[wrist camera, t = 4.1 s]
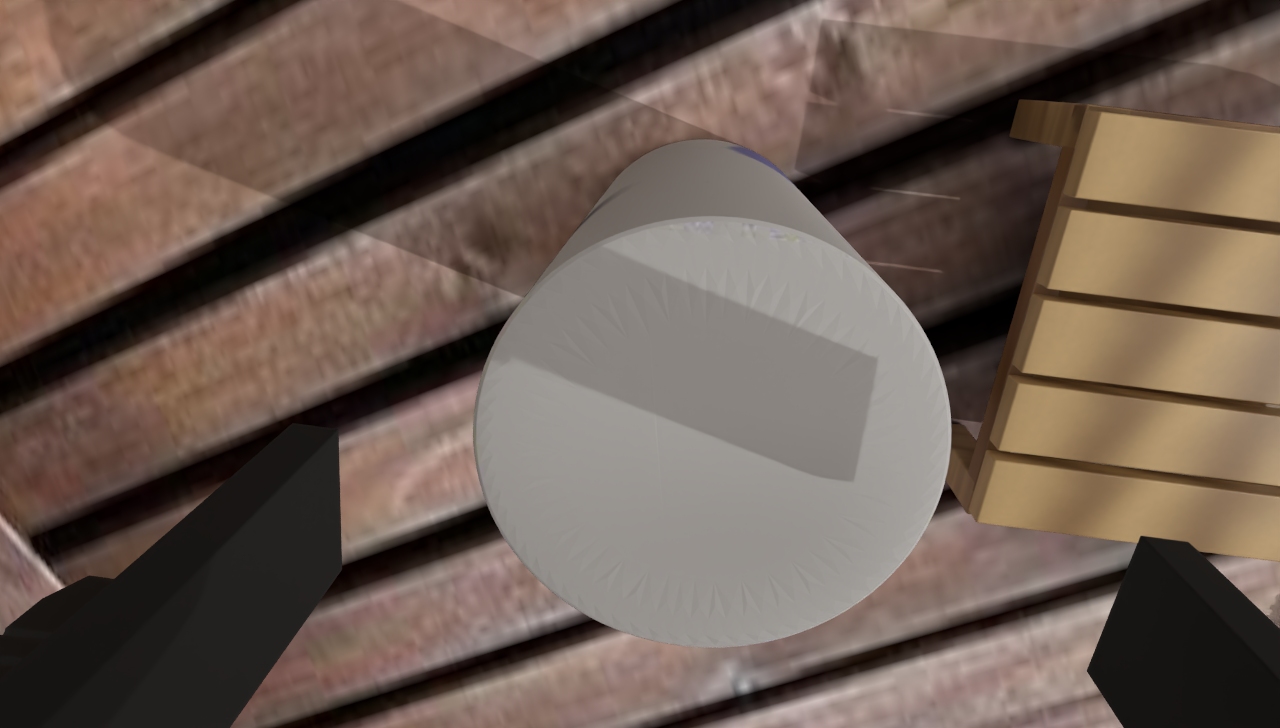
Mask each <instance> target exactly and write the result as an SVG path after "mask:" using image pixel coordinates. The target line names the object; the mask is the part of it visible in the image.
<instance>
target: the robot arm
mask: <svg viewBox="0 0 1280 728" xmlns="http://www.w3.org/2000/svg"><path fill="white" fill-rule="evenodd" d="M341 570H342V551H341V513H340V475H339V438H338V429H332V428H325V427H317V426H310V425H302V424H295V423H292V424H291V425H290V426H289V427H288V428H287V429H285V430H284V431H283V432H282V433H281V434H280V435H279V436H277V437H276V438H275V439H274V440H273V441H272V442H271V443H269V444H268V445H267V446H266V447H265V448H264V449H263V450H261V451H260V452H259V453H258V454H257V455H256V456H254V457H253V458H252V459H251V460H250V461H249V462H248V463H246V464H245V465H244V466H243V467H242V468H241V469H240V470H238V471H237V472H236V473H235V474H234V475H233V476H232V477H230V478H229V479H228V480H227V481H226V482H225V483H224V484H222V485H221V486H220V487H219V488H218V489H217V490H216V491H214V492H213V493H212V494H211V495H210V496H209V497H208V498H206V499H205V500H204V501H203V502H202V503H201V504H200V505H198V506H197V507H196V508H195V509H194V510H193V511H192V512H190V513H189V514H188V515H187V516H186V517H185V518H184V519H182V520H181V521H180V522H179V523H178V524H177V525H176V526H174V527H173V528H172V529H171V530H170V531H169V532H168V533H166V534H165V535H164V536H163V537H162V538H161V539H160V540H158V541H157V542H156V543H155V544H154V545H153V546H152V547H150V548H149V549H148V550H147V551H146V552H145V553H144V554H142V555H141V556H140V557H139V558H138V559H137V560H136V561H134V562H133V563H132V564H131V565H130V566H129V567H128V568H126V569H125V570H124V571H123V572H122V573H121V574H120V575H118V576H117V577H116V578H115V579H110V578H103V577H96V576H87V577H85V578H83V579H81V580H79V581H77V582H75V583H73V584H71V585H69V586H67V587H65V588H63V589H61V590H59V591H57V592H55V593H53V594H51V595H49V596H47V597H45V598H43V599H41V600H40V601H39V602H38V603H36V604H35V605H34V606H33V607H31V608H30V609H29V610H28V611H26V612H25V613H24V614H23V615H21V616H20V617H19V618H18V619H17V620H15V621H14V622H13V623H12V624H10V625H9V626H8V627H7V628H5V632H4V634H3V635H0V728H230V727H231V725H232V724H233V722H234V721H235V720H236V718H237V717H238V715H239V714H240V713H241V711H242V710H243V708H244V707H245V705H246V704H247V703H248V701H249V700H250V698H251V697H252V696H253V694H254V693H255V691H256V690H257V689H258V687H259V686H260V684H261V683H262V682H263V680H264V679H265V677H266V676H267V674H268V673H269V672H270V670H271V669H272V667H273V666H274V665H275V663H276V662H277V660H278V659H279V658H280V656H281V655H282V653H283V652H284V650H285V649H286V648H287V646H288V645H289V643H290V642H291V641H292V639H293V638H294V636H295V635H296V634H297V632H298V631H299V629H300V628H301V626H302V625H303V624H304V622H305V621H306V619H307V618H308V617H309V615H310V614H311V612H312V611H313V610H314V608H315V607H316V605H317V604H318V602H319V601H320V600H321V598H322V597H323V595H324V594H325V593H326V591H327V590H328V588H329V587H330V586H331V584H332V583H333V581H334V580H335V579H336V577H337V576H338V574H339V573H340V571H341ZM1087 672H1088V674H1089V675H1090V677H1091V678H1092V680H1093V681H1094V683H1095V684H1096V686H1097V687H1098V689H1099V690H1100V692H1101V693H1102V695H1103V697H1104V698H1105V700H1106V701H1107V703H1108V704H1109V706H1110V707H1111V709H1112V710H1113V712H1114V713H1115V715H1116V716H1117V718H1118V720H1119V721H1120V723H1121V724H1122V726H1123V727H1124V728H1280V629H1279V628H1278V627H1277V626H1276V625H1275V624H1274V623H1273V622H1272V621H1271V620H1270V619H1269V618H1268V617H1267V616H1266V615H1265V614H1264V613H1263V612H1262V611H1260V610H1259V609H1258V608H1257V607H1256V606H1255V605H1254V604H1253V603H1252V602H1251V601H1250V600H1249V599H1248V598H1247V597H1246V596H1245V595H1244V594H1243V593H1242V592H1241V591H1240V590H1238V589H1237V588H1236V587H1235V586H1234V585H1233V584H1232V583H1231V582H1230V581H1229V580H1228V579H1227V578H1226V577H1225V576H1224V575H1223V574H1222V573H1221V572H1220V571H1219V570H1218V569H1216V568H1215V567H1214V566H1213V565H1212V564H1211V563H1210V562H1209V561H1208V560H1207V559H1206V558H1205V557H1204V556H1203V555H1202V554H1201V553H1200V552H1199V551H1198V550H1197V549H1195V548H1194V547H1193V546H1192V545H1191V544H1190V543H1189V542H1185V541H1178V540H1170V539H1163V538H1155V537H1148V536H1140V538H1139V541H1138V544H1137V546H1136V549H1135V551H1134V554H1133V556H1132V559H1131V561H1130V564H1129V566H1128V569H1127V571H1126V574H1125V576H1124V579H1123V581H1122V584H1121V586H1120V589H1119V591H1118V594H1117V596H1116V599H1115V601H1114V604H1113V606H1112V609H1111V611H1110V614H1109V616H1108V619H1107V621H1106V624H1105V626H1104V629H1103V631H1102V634H1101V636H1100V639H1099V641H1098V644H1097V647H1096V649H1095V652H1094V654H1093V657H1092V659H1091V662H1090V664H1089V667H1088V669H1087Z"/></svg>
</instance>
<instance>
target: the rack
mask: <svg viewBox="0 0 1280 728" xmlns="http://www.w3.org/2000/svg"><path fill="white" fill-rule="evenodd" d="M1009 137H1011V138H1017V139H1022V140H1027V141H1032V142H1037V143H1043V144H1048V145H1053V146H1058V147H1062V151H1061V154H1060V158H1059V161H1058V164H1057V168H1056V171H1055V175H1054V178H1053V182H1052V185H1051V189H1050V192H1049V195H1048V199H1047V202H1046V206H1045V209H1044V213H1043V216H1042V219H1041V223H1040V226H1039V230H1038V233H1037V237H1036V240H1035V243H1034V247H1033V250H1032V254H1031V257H1030V261H1029V264H1028V268H1027V271H1026V274H1025V278H1024V281H1023V285H1022V288H1021V292H1020V295H1019V298H1018V302H1017V305H1016V309H1015V312H1014V316H1013V319H1012V322H1011V326H1010V329H1009V333H1008V336H1007V340H1006V343H1005V346H1004V350H1003V353H1002V357H1001V360H1000V364H999V367H998V371H997V374H996V377H995V381H994V384H993V388H992V391H991V395H990V398H989V401H988V405H987V408H986V412H985V415H984V419H983V422H982V425H981V429H980V432H979V436H978V439H977V441H976V440H975V439H974V437H973V436H972V435H971V433H970V432H969V431H968V430H967V428H966V427H965V426H964V425H959V424H951V451H950V459H949V465H948V471H947V475H946V479H945V480H946V481H947V483H948V484H949V486H950V488H951V489H952V491H953V492H954V494H955V496H956V497H957V499H958V500H959V502H960V504H961V505H962V507H963V508H964V510H965V512H966V513H967V514H971V515H972V516H973V518H974V519H975V521H976V522H978V523H985V524H993V525H1000V526H1008V527H1016V528H1023V529H1031V530H1039V531H1047V532H1054V533H1062V534H1070V535H1077V536H1085V537H1093V538H1100V539H1108V540H1116V541H1124V542H1131V543H1138V541H1139V538H1140V536H1148V537H1155V538H1163V539H1170V540H1178V541H1185V542H1189V543H1190V544H1191V545H1192V546H1193V547H1194V548H1195V549H1197V550H1198V551H1201V552H1208V553H1216V554H1224V555H1231V556H1239V557H1247V558H1254V559H1262V560H1270V561H1278V562H1280V127H1276V126H1268V125H1260V124H1251V123H1243V122H1234V121H1226V120H1218V119H1209V118H1201V117H1192V116H1184V115H1175V114H1167V113H1159V112H1150V111H1142V110H1133V109H1125V108H1117V107H1108V106H1100V105H1091V104H1079V103H1065V102H1051V101H1037V100H1023V99H1020V100H1019V101H1018V105H1017V109H1016V113H1015V116H1014V120H1013V124H1012V128H1011V131H1010V135H1009ZM1010 452H1015V453H1010ZM1016 453H1023V454H1016ZM1024 454H1031V455H1024ZM1032 455H1039V456H1032ZM1040 456H1047V457H1040ZM1048 457H1054V458H1048ZM1055 458H1062V459H1055ZM1063 459H1070V460H1063ZM1071 460H1078V461H1071ZM1079 461H1086V462H1079ZM1087 462H1093V463H1087ZM1095 463H1101V464H1095ZM1102 464H1109V465H1102ZM1110 465H1117V466H1110ZM1118 466H1125V467H1118ZM1126 467H1133V468H1126ZM1134 468H1140V469H1134ZM1141 469H1148V470H1141ZM1149 470H1156V471H1149ZM1157 471H1164V472H1157ZM1165 472H1172V473H1165ZM1173 473H1179V474H1173ZM1181 474H1187V475H1181ZM1188 475H1195V476H1188ZM1196 476H1203V477H1196ZM1204 477H1211V478H1204ZM1212 478H1218V479H1212ZM1220 479H1226V480H1220ZM1227 480H1234V481H1227Z"/></svg>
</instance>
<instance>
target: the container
mask: <svg viewBox="0 0 1280 728" xmlns="http://www.w3.org/2000/svg"><path fill="white" fill-rule="evenodd" d="M473 443H474V454H475V461H476V468H477V472H478V477H479V481H480V485H481V488H482V491H483V494H484V497H485V500H486V503H487V505H488V508H489V510H490V512H491V515H492V517H493V519H494V521H495V523H496V525H497V526H498V528H499V530H500V532H501V534H502V535H503V537H504V538H505V540H506V542H507V543H508V544H509V546H510V547H511V549H512V550H513V552H514V553H515V554H516V555H517V557H518V558H519V559H520V560H521V562H522V563H523V564H524V565H525V566H526V567H527V569H528V570H529V571H530V572H531V573H532V574H533V575H534V576H535V577H536V578H537V579H538V580H539V581H540V582H541V583H542V584H544V585H545V586H546V587H547V588H548V589H549V590H550V591H552V592H553V593H554V594H555V595H557V596H558V597H559V598H561V599H562V600H563V601H565V602H566V603H568V604H569V605H571V606H572V607H574V608H575V609H577V610H579V611H580V612H582V613H584V614H585V615H587V616H589V617H591V618H593V619H595V620H597V621H599V622H601V623H603V624H605V625H607V626H610V627H612V628H614V629H617V630H620V631H622V632H625V633H628V634H631V635H634V636H637V637H641V638H644V639H648V640H652V641H657V642H662V643H667V644H673V645H681V646H691V647H734V646H744V645H751V644H758V643H763V642H768V641H772V640H777V639H780V638H784V637H787V636H791V635H794V634H797V633H800V632H803V631H805V630H808V629H810V628H813V627H815V626H817V625H820V624H822V623H824V622H826V621H828V620H830V619H832V618H834V617H836V616H838V615H839V614H841V613H843V612H845V611H846V610H848V609H849V608H851V607H852V606H854V605H855V604H857V603H858V602H860V601H861V600H863V599H864V598H865V597H867V596H868V595H869V594H871V593H872V592H873V591H874V590H875V589H877V588H878V587H879V586H880V585H881V584H882V583H883V582H884V581H885V580H887V579H888V578H889V577H890V576H891V575H892V574H893V573H894V571H895V570H896V569H897V568H898V567H899V566H900V565H901V564H902V563H903V561H904V560H905V559H906V558H907V556H908V555H909V554H910V552H911V551H912V550H913V548H914V547H915V546H916V544H917V542H918V541H919V539H920V538H921V536H922V535H923V533H924V531H925V530H926V528H927V526H928V524H929V522H930V520H931V518H932V516H933V514H934V511H935V509H936V507H937V504H938V502H939V499H940V496H941V493H942V490H943V487H944V484H945V479H946V475H947V471H948V465H949V459H950V451H951V413H950V405H949V398H948V393H947V389H946V384H945V380H944V377H943V374H942V370H941V368H940V365H939V362H938V359H937V357H936V355H935V352H934V350H933V348H932V346H931V344H930V342H929V340H928V338H927V336H926V334H925V332H924V331H923V329H922V328H921V326H920V324H919V323H918V321H917V320H916V318H915V317H914V315H913V314H912V313H911V311H910V310H909V309H908V307H907V306H906V305H905V304H904V302H903V301H902V300H901V299H900V298H899V297H898V296H897V294H896V293H895V292H894V291H893V290H892V289H891V288H890V287H889V286H888V285H887V284H886V283H885V282H884V281H883V279H882V278H881V277H880V276H879V275H878V274H877V273H876V272H875V271H874V270H873V269H872V268H871V267H870V266H869V264H868V263H867V262H866V261H865V260H864V259H863V258H862V257H861V256H860V255H859V254H858V253H857V252H856V251H855V250H854V248H853V247H852V246H851V245H850V244H849V243H848V242H847V241H846V240H845V239H844V238H843V237H842V236H841V235H840V233H839V232H838V231H837V230H836V229H835V228H834V227H833V226H832V225H831V224H830V223H829V222H828V221H827V220H826V218H825V217H824V216H823V215H822V214H821V213H820V212H819V211H818V210H817V209H816V208H815V207H814V206H813V205H812V204H811V202H810V201H809V200H808V199H807V198H806V197H805V196H804V195H803V194H802V193H801V192H800V191H799V190H798V189H797V187H796V186H795V185H794V184H793V183H792V182H791V181H790V180H789V179H788V178H787V177H786V176H785V175H784V174H783V173H782V172H781V171H780V170H779V169H778V168H777V167H776V166H775V165H774V164H772V163H771V162H770V161H768V160H767V159H766V158H764V157H762V156H761V155H759V154H757V153H756V152H754V151H752V150H750V149H747V148H745V147H742V146H740V145H736V144H733V143H729V142H725V141H719V140H709V139H695V140H686V141H680V142H675V143H672V144H668V145H665V146H662V147H660V148H657V149H655V150H653V151H651V152H649V153H647V154H645V155H643V156H642V157H640V158H639V159H637V160H636V161H634V162H633V163H632V164H630V165H629V166H628V167H627V168H626V169H625V170H624V171H622V172H621V173H620V175H619V176H618V177H617V178H616V179H615V180H614V181H613V182H612V184H611V185H610V186H609V188H608V189H607V190H606V192H605V193H604V194H603V196H602V197H601V198H600V199H599V201H598V202H597V203H596V205H595V206H594V207H593V209H592V210H591V211H590V213H589V214H588V215H587V216H586V218H585V219H584V220H583V222H582V223H581V224H580V226H579V227H578V228H577V230H576V231H575V232H574V233H573V235H572V236H571V237H570V239H569V240H568V241H567V243H566V244H565V245H564V247H563V248H562V249H561V250H560V252H559V253H558V254H557V256H556V257H555V258H554V260H553V261H552V262H551V264H550V265H549V266H548V267H547V269H546V270H545V271H544V273H543V274H542V275H541V277H540V278H539V279H538V281H537V282H536V283H535V284H534V286H533V287H532V288H531V290H530V291H529V292H528V294H527V295H526V296H525V298H524V299H523V300H522V301H521V303H520V304H519V305H518V307H517V308H516V309H515V311H514V312H513V313H512V315H511V316H510V318H509V319H508V321H507V322H506V324H505V325H504V327H503V328H502V330H501V332H500V334H499V335H498V337H497V339H496V341H495V343H494V345H493V347H492V349H491V351H490V354H489V356H488V358H487V361H486V364H485V366H484V369H483V372H482V376H481V379H480V383H479V387H478V391H477V396H476V402H475V409H474V422H473Z"/></svg>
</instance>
